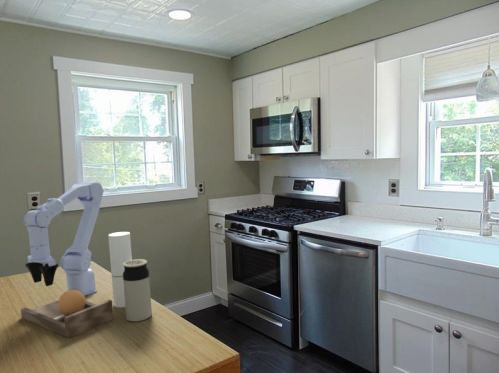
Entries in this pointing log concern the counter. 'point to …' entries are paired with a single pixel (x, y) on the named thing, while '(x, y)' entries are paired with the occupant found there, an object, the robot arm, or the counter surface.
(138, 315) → the travel mug
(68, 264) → the robot arm
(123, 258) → the cylindrical container
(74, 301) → the ball
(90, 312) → the tray
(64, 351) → the counter surface
